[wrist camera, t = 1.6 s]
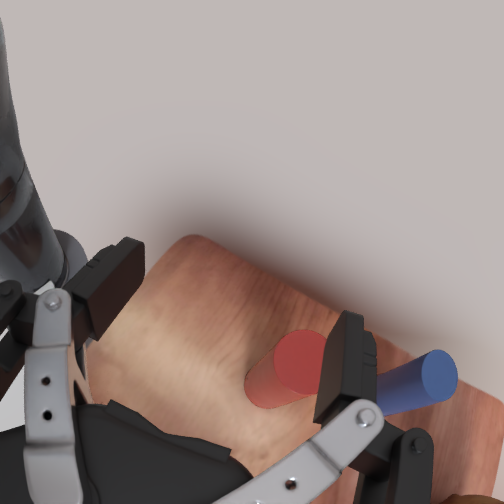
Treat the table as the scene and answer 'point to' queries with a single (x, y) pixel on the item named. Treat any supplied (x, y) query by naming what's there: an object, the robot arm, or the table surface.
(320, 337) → the red tin
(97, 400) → the table surface
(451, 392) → the blue tin
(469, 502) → the butternut squash
